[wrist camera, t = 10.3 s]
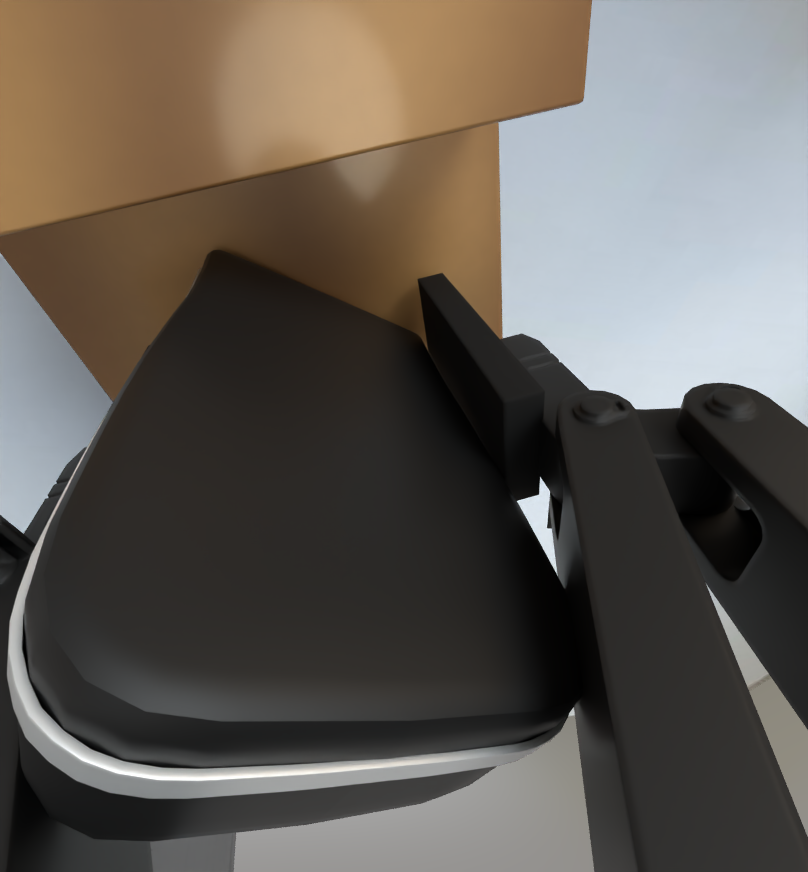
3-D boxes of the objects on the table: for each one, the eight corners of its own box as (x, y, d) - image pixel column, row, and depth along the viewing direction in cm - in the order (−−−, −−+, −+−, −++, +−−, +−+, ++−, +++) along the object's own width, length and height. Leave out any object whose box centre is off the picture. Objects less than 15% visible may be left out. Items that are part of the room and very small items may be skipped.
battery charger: (172, 358, 13) (-90, 928, 4) (202, 235, 11) (-152, 773, 2) (378, 422, 16) (489, 823, 7) (428, 333, 14) (661, 723, 5)
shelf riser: (265, 482, 27) (251, 680, 18) (-66, -120, 12) (-1494, -1003, 2) (458, 430, 28) (542, 595, 18) (389, -203, 12) (691, -1136, 3)
